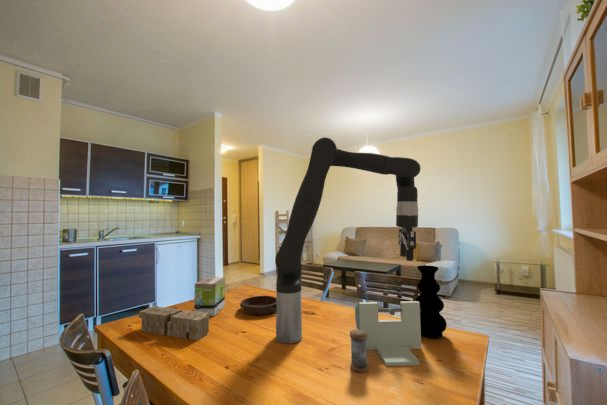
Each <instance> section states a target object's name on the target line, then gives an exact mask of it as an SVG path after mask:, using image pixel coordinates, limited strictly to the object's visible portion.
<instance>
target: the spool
mask: <svg viewBox="0 0 607 405" xmlns="http://www.w3.org/2000/svg"><path fill="white" fill-rule="evenodd" d="M349 338H350V354H351V356H350V357H351V358H350V359H351V362H350V370H351V371H353V372H354V373H357V374H364V373H367V372H368V371H369V364H368V354H367V351H368V350H367V345H366V339H367V332H366V331H363V330H358V329H352V330H350V331H349Z"/></svg>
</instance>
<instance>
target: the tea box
mask: <svg viewBox="0 0 607 405" xmlns="http://www.w3.org/2000/svg"><path fill="white" fill-rule="evenodd" d="M225 293H226V277H225V276H223V277H217V276H216V277H213V276H212V277H211V276H210V277H209V276H208V277H205V278H202V279H201V280H199V281H197V282H195V283H194V299H193V300H194V301H193V303H194V305H193V311H196V312H197V311H198V312H204V313H209V317H215V316H216V315H217V314H218V313H219V312H220V311H221V310H222V309H224V307H225V306H226V302H225V300H226V294H225Z"/></svg>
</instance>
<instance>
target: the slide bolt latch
mask: <svg viewBox="0 0 607 405" xmlns="http://www.w3.org/2000/svg"><path fill="white" fill-rule="evenodd" d="M358 303H359V320H360V330H363V331H366V332H367V339H366V345H367V351H373V350H374V351H376V352H377V353H378V355H379V357H380V358H381V360H382V362H383V363H384V365H385V366H386V367H398V366H401V367H402V366H403V367H404V366H405V367H406V366H420V363H421V362H420V360H419V359H418V358H417V357H416V355H415V354H414V353H413V352H412V351H411V350H414V349H416V350H420V349H422V335H421V326H420V302H418V301H415V300H412V301H411V300H410V301H409V300H407V301H405V300H404V301H402V300H401V301H399V303H400V306H399V307H387V308H385V307H384V308H383V307H380V308H379V303H378V302H377V301H366V302H365V301H363V302H360V301H359V302H358ZM397 312H399V313H400V319H379V313H389V314H390V315H391V316H394V315H395V313H397Z"/></svg>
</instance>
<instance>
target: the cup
mask: <svg viewBox="0 0 607 405" xmlns="http://www.w3.org/2000/svg"><path fill="white" fill-rule="evenodd" d="M354 319H355V320H354V321H355V326H356V327H355V328H356V330H360V320H359V302H357V303H355V305H354Z"/></svg>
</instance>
